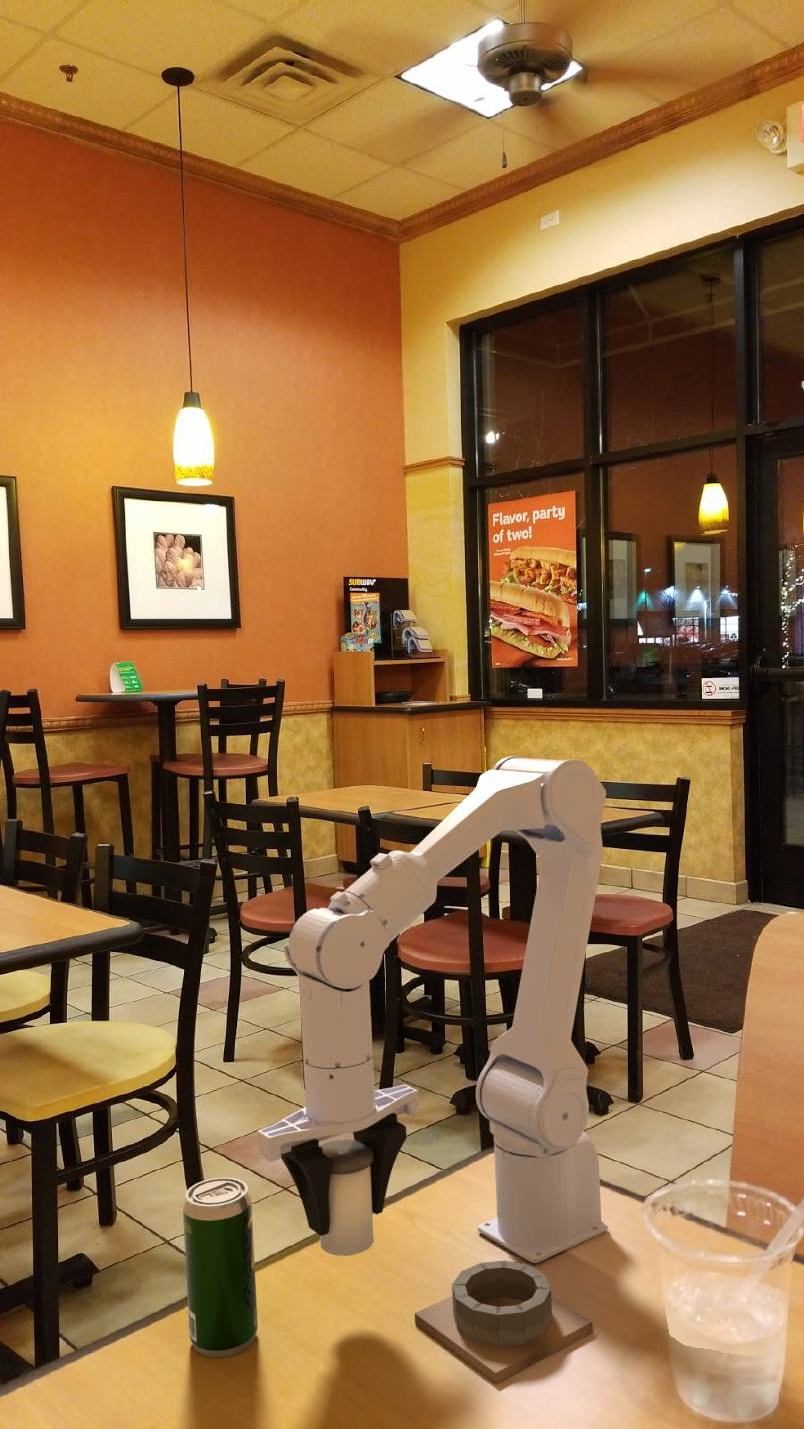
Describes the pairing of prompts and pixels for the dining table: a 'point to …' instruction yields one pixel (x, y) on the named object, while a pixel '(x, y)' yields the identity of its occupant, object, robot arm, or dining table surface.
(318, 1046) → the robot arm
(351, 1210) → the grey-capped cream cylinder
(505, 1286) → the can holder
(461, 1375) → the dining table surface
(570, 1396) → the dining table surface
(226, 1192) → the green guarana soda can
